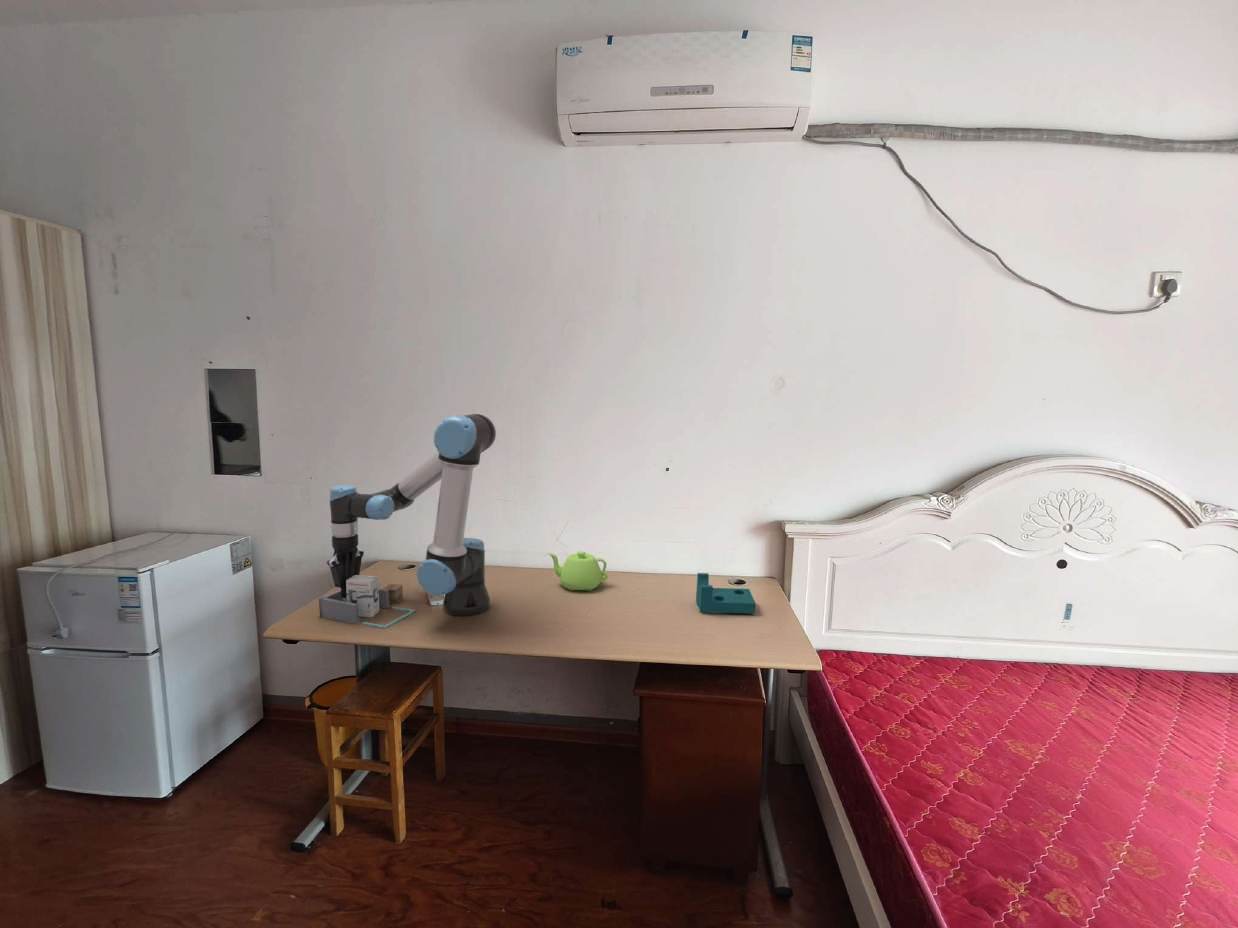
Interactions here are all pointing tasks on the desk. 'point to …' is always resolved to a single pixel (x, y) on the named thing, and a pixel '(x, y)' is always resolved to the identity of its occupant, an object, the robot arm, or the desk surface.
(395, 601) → the walnut block
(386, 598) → the cubby
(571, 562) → the teapot
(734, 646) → the desk surface
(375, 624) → the frame
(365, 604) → the ink box
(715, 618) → the desk surface
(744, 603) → the teal l-shaped bracket
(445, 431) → the robot arm
